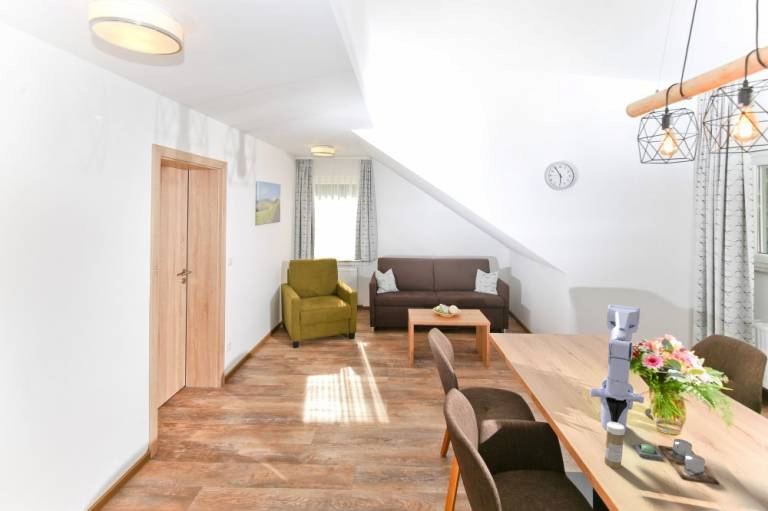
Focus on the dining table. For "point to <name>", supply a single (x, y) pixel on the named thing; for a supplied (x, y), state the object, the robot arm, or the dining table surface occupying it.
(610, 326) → the robot arm
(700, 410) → the dining table surface
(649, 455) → the grey square frame
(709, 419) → the dining table surface
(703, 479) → the pallet
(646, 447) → the button
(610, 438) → the sprinkles bottle
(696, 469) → the cylinder
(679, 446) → the seated billet
